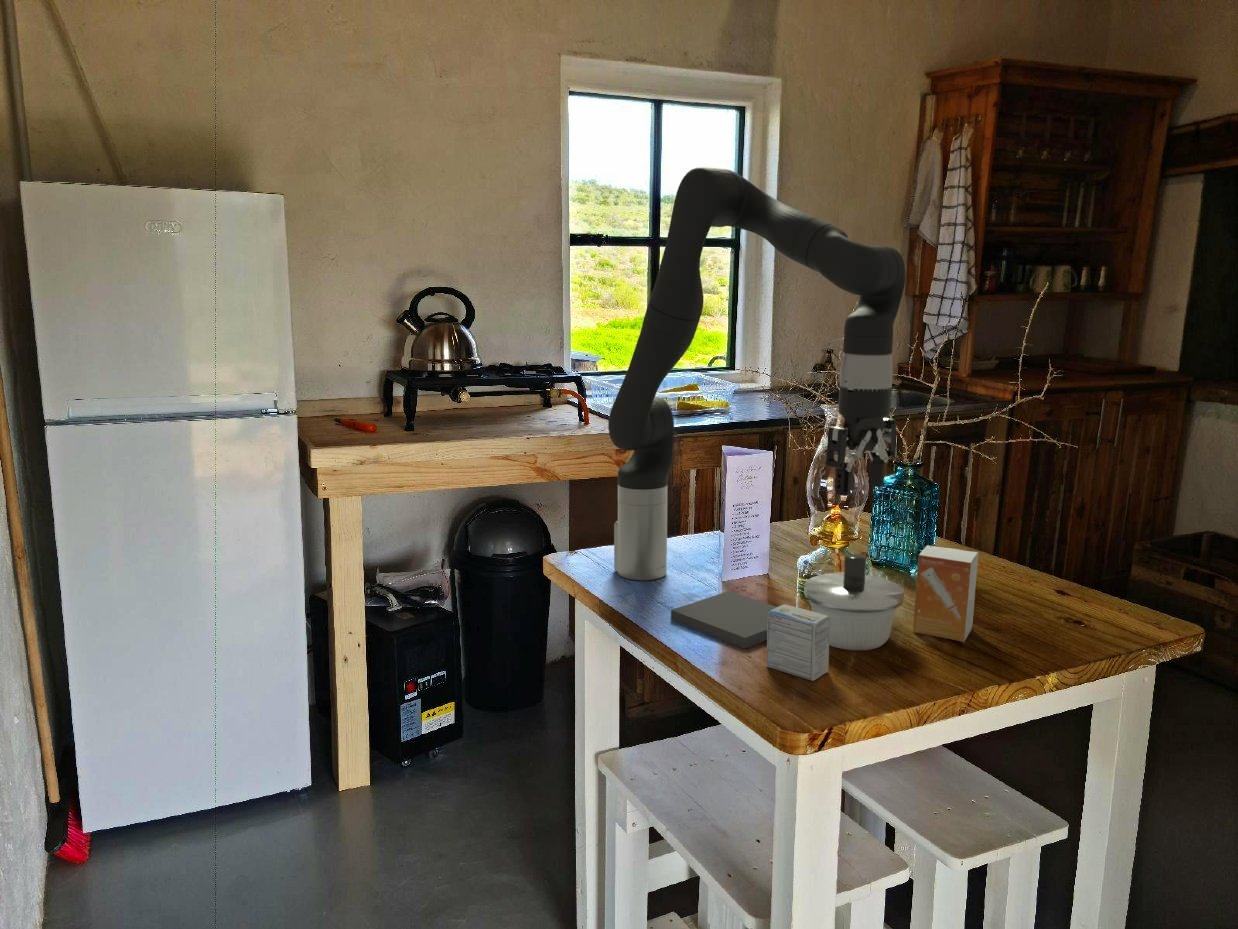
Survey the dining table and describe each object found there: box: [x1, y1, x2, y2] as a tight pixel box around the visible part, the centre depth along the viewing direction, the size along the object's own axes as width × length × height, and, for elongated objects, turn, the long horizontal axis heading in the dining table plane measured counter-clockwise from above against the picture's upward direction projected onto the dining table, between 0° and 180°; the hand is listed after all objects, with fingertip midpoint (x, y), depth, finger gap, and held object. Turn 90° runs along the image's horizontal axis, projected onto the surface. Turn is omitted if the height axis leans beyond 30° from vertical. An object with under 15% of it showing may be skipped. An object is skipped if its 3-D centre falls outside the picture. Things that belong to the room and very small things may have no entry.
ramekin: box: [808, 599, 897, 651], centre depth 152 cm, size 13×13×7 cm
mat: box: [670, 590, 777, 649], centre depth 158 cm, size 16×14×2 cm
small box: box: [912, 545, 979, 643], centre depth 154 cm, size 8×6×13 cm
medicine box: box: [765, 603, 830, 682], centre depth 140 cm, size 8×4×9 cm, turn 48°
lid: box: [803, 553, 905, 613], centre depth 151 cm, size 15×15×6 cm
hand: (859, 490), depth 147 cm, fingers open, 8 cm apart
